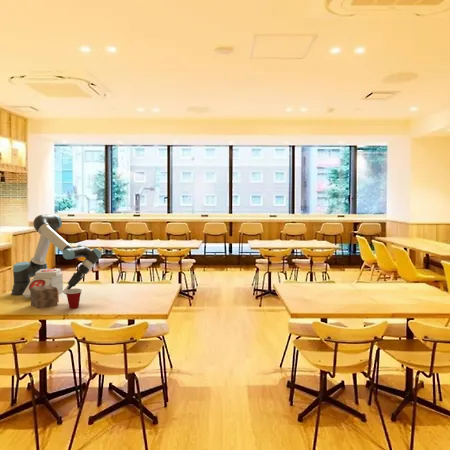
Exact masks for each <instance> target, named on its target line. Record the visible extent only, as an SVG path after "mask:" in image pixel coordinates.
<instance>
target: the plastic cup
mask: <svg viewBox="0 0 450 450" xmlns="http://www.w3.org/2000/svg"><path fill="white" fill-rule="evenodd" d="M82 291H83V290H82V289H81V288H71V289H68V290H66V291H65V293H66V294H65V295H66V297H67V303H68V306H69V309H70V308H71V310H72V309H78V308H79V306H80V301H81V300H80V299H81V295H82Z"/></svg>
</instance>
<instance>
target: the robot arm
mask: <svg viewBox="0 0 450 450" xmlns="http://www.w3.org/2000/svg"><path fill="white" fill-rule="evenodd" d="M62 225H63V221H62V218H61V217H60V215H58V214H56V213H49V214H48V213H47V214H40V215H37V216H36V217H35V218H34V219H33V228H34V230H35V231H36V232H37V233H38V234H39V235H40V236H39V240H38V242H37V245H36V248H35V251H34V252H35V253H34V256H32V257H31V258H30V261H20V262H17V263H14V264H13V266H12V274H13V285H12V289H11V295H13V296H14V295H16V296H18V295H19V296H21V295H22V294H23V293H24V291H25V289H26V288H27V286H28V284H29V283H30V281H31V279H32V278H33V276H35V273H36V272H37V271H39V270H40V269H48V264H47V260H46V258H47V254H48V251H49V248H50V246H51V243H52V244H53V245H54V246H55V247H56V248H57V249H58V250H59V251H60V252H61V253H62V257H63V259H65V260H73V259H78V258H81V257H83V258H85V259H84V260H83V261H82V262H81V264H80V265H79V266H78V268H77V269H78V271H76V272H74V273H72V276H71V278H70V279H69V280H68V282H67V285H66V287H65V288H63V292H62V293H63V294H64V295H66V293H65V291H66V290H68V289H73V287H76V285H78V283H79V282H80V281H81V280H83V279H84V278H85V275H87V274H88V273H89V272H90V270H91V269H92V268H93V267H94V265H95V264H96V263H97V262H98V261H99V259H101V256H102V255H103V253H102V251H101V250H100V249H98V248H96V247H94V248H93V249H92V248H89V246H86V245H84V244H81V243H80V244H77V246H76V247H73V246H72V245H71V244H70V243H69V242H67V241H66V240H65V239H64V238H63V237H62V236H61V235H59V234H58V233H57V230H58V229H60V228H61V227H62ZM22 296H23V295H22Z"/></svg>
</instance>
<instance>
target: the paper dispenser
mask: <svg viewBox="0 0 450 450" xmlns="http://www.w3.org/2000/svg"><path fill="white" fill-rule="evenodd" d="M45 285H51V286H53V287H56V288H57V289H58V294H62V293H63V290H64V282H63V272H61V268H47V269H40V270H39V271H37V272H36V273H35V276H33V277H32V278H30V283H29V284H28V286H27V288H26V289H25V291H24V293H23V294H22V297H24V298H29V299H31V293H30V288H32V287H39V286H45Z"/></svg>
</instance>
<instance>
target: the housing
mask: <svg viewBox="0 0 450 450" xmlns="http://www.w3.org/2000/svg"><path fill="white" fill-rule="evenodd" d="M30 293H31V298H30V305H31V306H32V307H34V308H35V309H37V310H40V309H45V308H49V307H50V308H51V306H52V307H56V306H58V303H57V288H56V287H53V286H51V285H45V286H39V287H32V288H30Z"/></svg>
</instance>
